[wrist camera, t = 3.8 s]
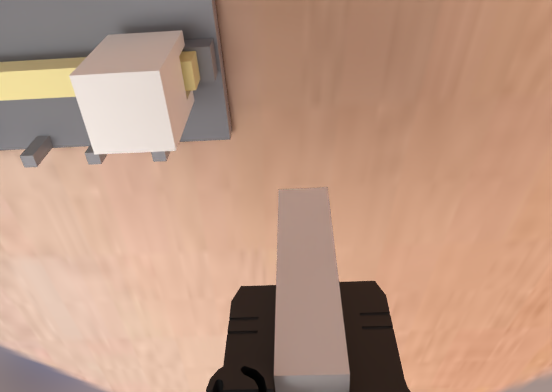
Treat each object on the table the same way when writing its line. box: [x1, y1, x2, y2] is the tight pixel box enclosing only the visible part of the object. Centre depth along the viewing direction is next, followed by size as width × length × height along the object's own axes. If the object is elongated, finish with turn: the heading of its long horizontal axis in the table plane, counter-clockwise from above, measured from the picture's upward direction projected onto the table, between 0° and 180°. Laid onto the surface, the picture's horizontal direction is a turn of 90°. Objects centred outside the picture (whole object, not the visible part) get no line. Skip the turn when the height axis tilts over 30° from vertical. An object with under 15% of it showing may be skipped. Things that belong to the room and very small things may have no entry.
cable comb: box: [0, 0, 232, 167], centre depth 28 cm, size 20×11×5 cm, turn 93°
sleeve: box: [69, 30, 194, 155], centre depth 25 cm, size 4×4×6 cm
